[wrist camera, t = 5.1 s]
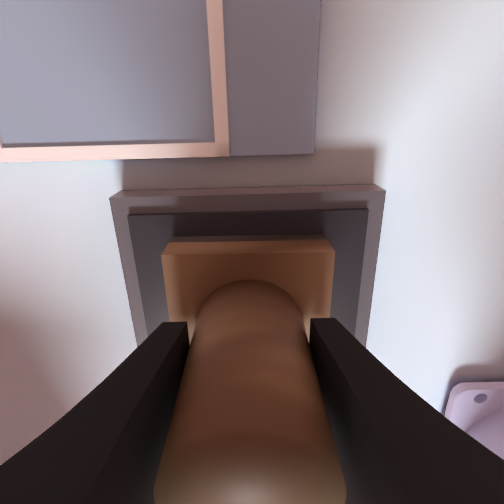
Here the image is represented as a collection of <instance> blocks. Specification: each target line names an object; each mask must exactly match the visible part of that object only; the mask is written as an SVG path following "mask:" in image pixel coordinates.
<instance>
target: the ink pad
mask: <svg viewBox="0 0 504 504" xmlns="http://www.w3.org/2000/svg"><path fill="white" fill-rule="evenodd" d="M385 194H386V190H384V189H382V188H380V187H378V186H377V185H375V184H355V185H316V186H276V187H237V188H198V189H159V190H121V191H120V192H118V193H116V194H115V195H113V196H111V197H110V198H109V200H110V205H111V210H112V216H113V221H114V226H115V231H116V237H117V242H118V247H119V252H120V258H121V263H122V268H123V273H124V279H125V284H126V289H127V294H128V300H129V305H130V310H131V316H132V321H133V326H134V331H135V337H136V342H137V347H138V346H139V345H140V344H141V343H142V342H143V341H144V340H145V339H146V338H147V337H148V336H149V335H150V334H151V333H152V332H153V331H154V330H155V329H156V328H157V327H158V326H159V325H160V324H161V323H162V322H170V321H169V313H168V305H167V298H166V290H165V282H164V274H163V267H162V259H161V254H162V252H163V251H164V249H165V248H166V246H167V245H168V243H169V241H170V240H171V238H172V237H176V236H236V235H295V234H324V235H325V236H326V238H327V239H328V241H329V243H330V244H331V246H332V247H333V249H334V251H335V262H334V273H333V285H332V296H331V308H330V318H336V319H337V320H338V321H339V322H340V323H341V324H342V325H343V326H344V327H345V328H346V329H347V330H348V331H349V332H350V333H351V334H352V335H353V336H354V337H355V338H356V339H357V340H358V341H359V342H360V343H361V344H362V345H363V346H364V347H365V348H366V341H367V333H368V325H369V318H370V310H371V302H372V294H373V287H374V279H375V271H376V264H377V256H378V248H379V241H380V233H381V225H382V217H383V210H384V202H385Z"/></svg>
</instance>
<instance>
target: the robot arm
mask: <svg viewBox="0 0 504 504" xmlns="http://www.w3.org/2000/svg"><path fill="white" fill-rule="evenodd" d="M309 345H310V349H311V353H312V357H313V361H314V364H315V368H316V372H317V376H318V380H319V383H320V387H321V391H322V395H323V399H324V403H325V406H326V410H327V414H328V418H329V422H330V425H331V429H332V433H333V437H334V441H335V445H336V448H337V452H338V456H339V460H340V464H341V467H342V471H343V475H344V479H345V483H346V489H347V491H346V501H345V504H504V381H502V382H464V383H459V384H457V385H455V386H454V387H453V388H452V390H451V392H450V396H449V399H448V403H447V407H446V411H445V415H444V416H443V415H442V414H441V413H439V412H438V411H437V410H436V409H434V408H433V407H432V406H431V405H429V404H428V403H427V402H426V401H425V400H423V399H422V398H421V397H420V396H419V395H417V394H416V393H415V392H414V391H412V390H411V389H410V388H409V387H408V386H407V385H405V384H404V383H403V382H402V381H401V380H400V379H399V378H397V377H396V376H395V375H394V374H393V373H392V372H391V371H390V370H389V369H387V368H386V367H385V366H384V365H383V364H382V363H381V362H380V361H379V360H378V359H377V358H376V357H374V356H373V355H372V354H371V353H370V352H369V351H368V350H367V349H366V348H365V347H364V346H363V345H362V344H361V343H360V342H359V341H358V340H357V339H356V338H355V337H354V336H353V335H352V334H351V333H350V332H349V331H348V330H347V329H346V328H345V327H344V326H343V325H342V324H341V323H340V322H339V321H338V320H337V319H336V318H310V336H309ZM189 347H190V342H189V334H188V325H187V321H185V322H162V323H161V324H160V325H159V326H158V327H157V328H156V329H155V330H154V331H153V332H152V333H151V334H150V335H149V336H148V337H147V338H146V339H145V340H144V341H143V342H142V343H141V344H140V345H139V346H138V347H137V348H136V349H135V350H134V351H133V352H132V353H131V354H130V355H129V356H128V357H127V358H126V359H125V360H124V361H123V362H122V363H121V364H120V365H119V366H118V367H117V368H116V369H115V370H114V371H113V372H112V373H111V374H110V375H109V376H108V377H107V378H106V379H105V380H104V381H103V382H101V383H100V384H99V385H98V386H97V387H96V388H95V389H94V390H93V391H91V392H90V393H89V394H88V395H87V396H86V397H85V398H84V399H82V400H81V401H80V402H79V403H78V404H77V405H76V406H75V407H73V408H72V409H71V410H70V411H69V412H68V413H67V414H65V415H64V416H63V417H62V418H61V419H60V420H58V421H57V422H56V423H55V424H53V425H52V426H51V427H50V428H49V429H47V430H46V431H45V432H44V433H42V434H41V435H40V436H39V437H37V438H36V439H35V440H33V441H32V442H31V443H29V444H28V445H27V446H26V447H24V448H23V449H22V450H20V451H19V452H18V453H16V454H15V455H14V456H13V457H11V458H10V459H9V460H7V461H6V462H5V463H3V464H2V465H1V466H0V504H155V503H154V495H153V492H154V484H155V480H156V476H157V472H158V468H159V465H160V461H161V457H162V453H163V449H164V445H165V441H166V437H167V433H168V429H169V425H170V422H171V418H172V414H173V410H174V406H175V402H176V398H177V394H178V390H179V386H180V383H181V379H182V375H183V371H184V367H185V363H186V359H187V355H188V351H189Z"/></svg>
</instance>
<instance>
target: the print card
mask: <svg viewBox="0 0 504 504" xmlns="http://www.w3.org/2000/svg"><path fill="white" fill-rule="evenodd" d="M320 9H321V0H0V162H34V161H73V160H112V159H151V158H189V157H228V156H252V155H291V154H314V142H315V119H316V97H317V75H318V53H319V31H320Z"/></svg>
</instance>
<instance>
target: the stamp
mask: <svg viewBox="0 0 504 504" xmlns="http://www.w3.org/2000/svg"><path fill="white" fill-rule="evenodd" d="M161 259H162V267H163V274H164V282H165V290H166V298H167V305H168V313H169V321H170V322H185V321H187V325H188V334H189V342H190V347H189V351H188V355H187V359H186V363H185V367H184V371H183V375H182V379H181V383H180V386H179V390H178V394H177V398H176V402H175V406H174V410H173V414H172V418H171V422H170V425H169V429H168V433H167V437H166V441H165V445H164V449H163V453H162V457H161V461H160V465H159V468H158V472H157V476H156V480H155V484H154V492H153V495H154V503H155V504H345V501H346V491H347V489H346V483H345V479H344V475H343V471H342V467H341V464H340V460H339V456H338V452H337V448H336V445H335V441H334V437H333V433H332V429H331V425H330V422H329V418H328V414H327V410H326V406H325V403H324V399H323V395H322V391H321V387H320V383H319V380H318V376H317V372H316V368H315V364H314V361H313V357H312V353H311V349H310V345H309V336H310V318H330V308H331V296H332V285H333V273H334V262H335V251H334V249H333V247H332V246H331V244H330V243H329V241H328V239H327V238H326V236H325V235H324V234H295V235H236V236H176V237H172V238H171V240H170V241H169V243H168V245H167V246H166V248H165V249H164V251H163V252H162V254H161Z"/></svg>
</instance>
